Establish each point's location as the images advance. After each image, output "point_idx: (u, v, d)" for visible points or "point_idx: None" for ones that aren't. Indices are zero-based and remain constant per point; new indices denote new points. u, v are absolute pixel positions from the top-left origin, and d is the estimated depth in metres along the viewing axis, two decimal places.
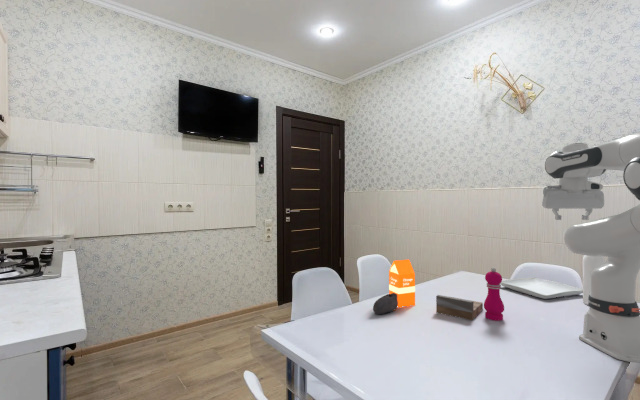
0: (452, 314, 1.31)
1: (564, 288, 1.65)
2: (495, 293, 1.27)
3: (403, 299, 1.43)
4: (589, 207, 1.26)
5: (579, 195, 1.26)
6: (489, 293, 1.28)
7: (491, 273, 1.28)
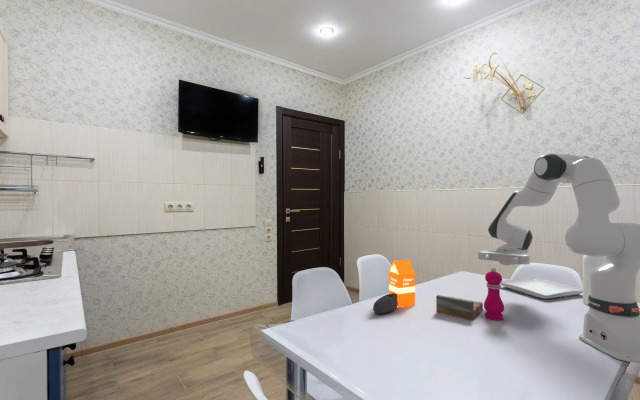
0: (452, 314, 1.31)
1: (564, 288, 1.65)
2: (495, 293, 1.27)
3: (403, 299, 1.43)
4: (515, 255, 1.39)
5: (508, 253, 1.45)
6: (489, 293, 1.28)
7: (491, 273, 1.28)
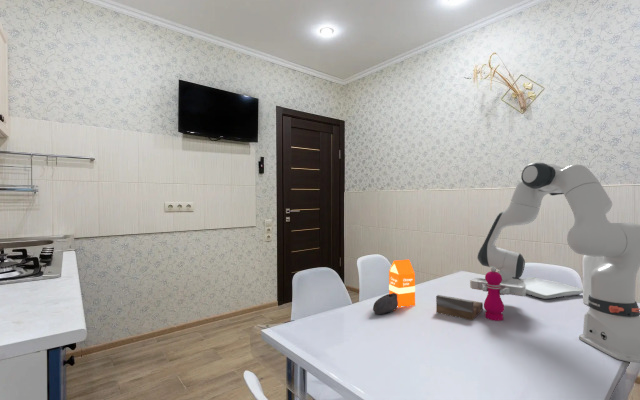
0: (452, 314, 1.31)
1: (564, 288, 1.65)
2: (495, 293, 1.27)
3: (403, 299, 1.43)
4: (510, 285, 1.29)
5: (502, 282, 1.34)
6: (489, 293, 1.28)
7: (491, 273, 1.28)
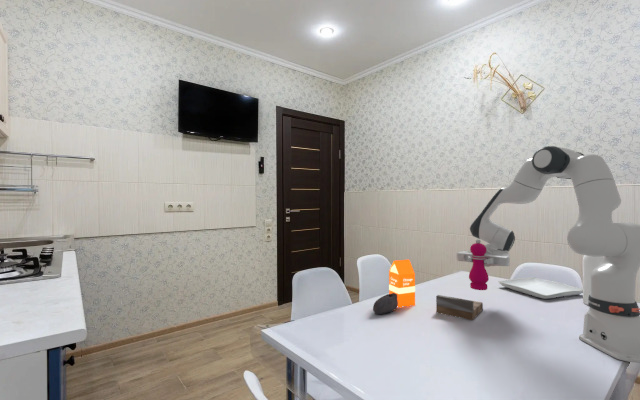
0: (452, 314, 1.31)
1: (564, 288, 1.65)
2: (480, 263, 1.30)
3: (403, 299, 1.43)
4: (494, 256, 1.32)
5: (488, 254, 1.38)
6: (474, 264, 1.32)
7: (476, 244, 1.31)
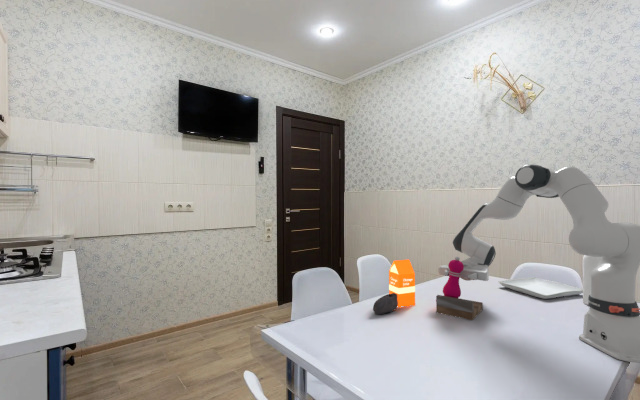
0: (452, 314, 1.31)
1: (564, 288, 1.65)
2: (455, 280, 1.35)
3: (403, 299, 1.43)
4: (474, 271, 1.36)
5: (468, 268, 1.42)
6: (449, 279, 1.37)
7: (454, 261, 1.35)
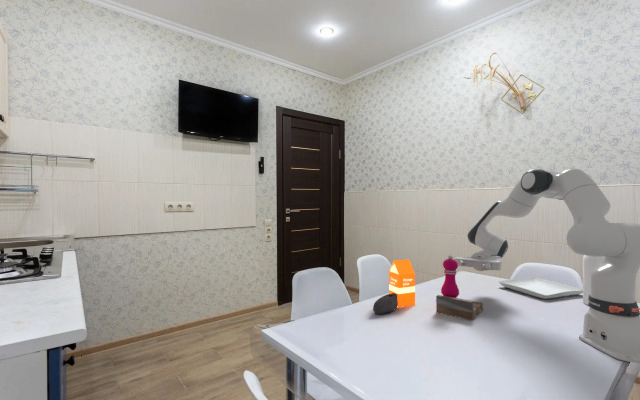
0: (452, 314, 1.31)
1: (564, 288, 1.65)
2: (451, 278, 1.37)
3: (403, 299, 1.43)
4: (488, 261, 1.45)
5: (482, 259, 1.51)
6: (446, 278, 1.39)
7: (448, 260, 1.39)
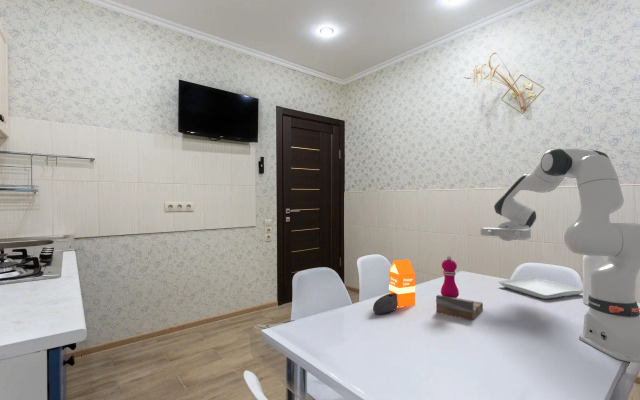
0: (452, 314, 1.31)
1: (564, 288, 1.65)
2: (450, 279, 1.37)
3: (403, 299, 1.43)
4: (517, 229, 1.44)
5: (510, 228, 1.50)
6: (445, 279, 1.38)
7: (446, 261, 1.38)
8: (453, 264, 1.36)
